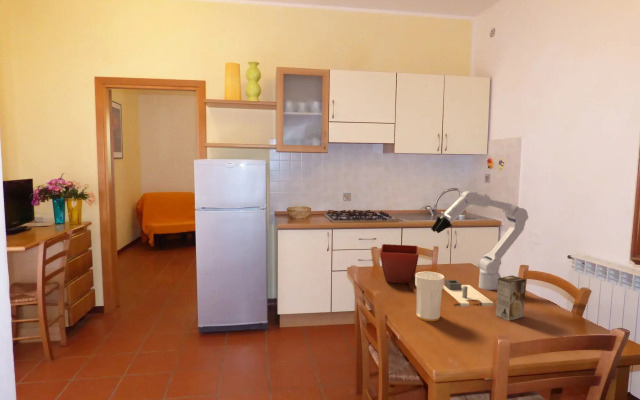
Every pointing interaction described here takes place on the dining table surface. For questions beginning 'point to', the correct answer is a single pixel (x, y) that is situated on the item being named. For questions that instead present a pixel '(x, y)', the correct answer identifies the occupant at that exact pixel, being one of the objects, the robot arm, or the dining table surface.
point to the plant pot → (399, 262)
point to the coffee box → (510, 297)
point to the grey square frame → (453, 284)
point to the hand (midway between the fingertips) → (434, 231)
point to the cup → (429, 295)
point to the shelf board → (468, 296)
